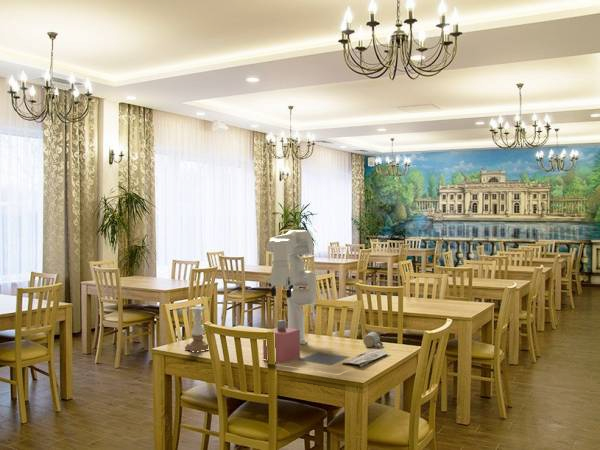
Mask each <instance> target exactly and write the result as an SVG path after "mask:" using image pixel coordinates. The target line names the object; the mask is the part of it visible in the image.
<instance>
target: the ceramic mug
mask: <svg viewBox="0 0 600 450" xmlns="http://www.w3.org/2000/svg"><path fill="white" fill-rule="evenodd" d="M363 344H364V345H365V347H366V348H373V347H377V348H383V346H384V343H383V342H382V341H381V338H380V335H379V334H378V332H376V331H370V332H369V333H367V334H366V335H365V336H364V337H363Z"/></svg>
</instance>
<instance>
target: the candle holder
mask: <svg viewBox="0 0 600 450" xmlns="http://www.w3.org/2000/svg"><path fill="white" fill-rule="evenodd" d="M207 309H208V307H207V306H205V305H204V306H203V305H202V306H201V305H199V306H197V305H196V306H189V307H188V311H192V313H193V314H194V317H193V318H192V320H193V322H194V325H193V327H192V328H191V330H190V331H191V332H190V333H191V334H192V341H191V342H190V343H186V345H185V347H184V350H185V349H187V350H190V351H194V352H197V351H201V350H206V349H208V344H209V343H208V342H205V341H204V336H203V335H204V333H205V328H204V326H203V325H202V320H203V318H202V317H203V316H202V313H203V311H205V310H207ZM203 328H204V329H203ZM207 343H208V344H207ZM190 351H189V352H190Z"/></svg>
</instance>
